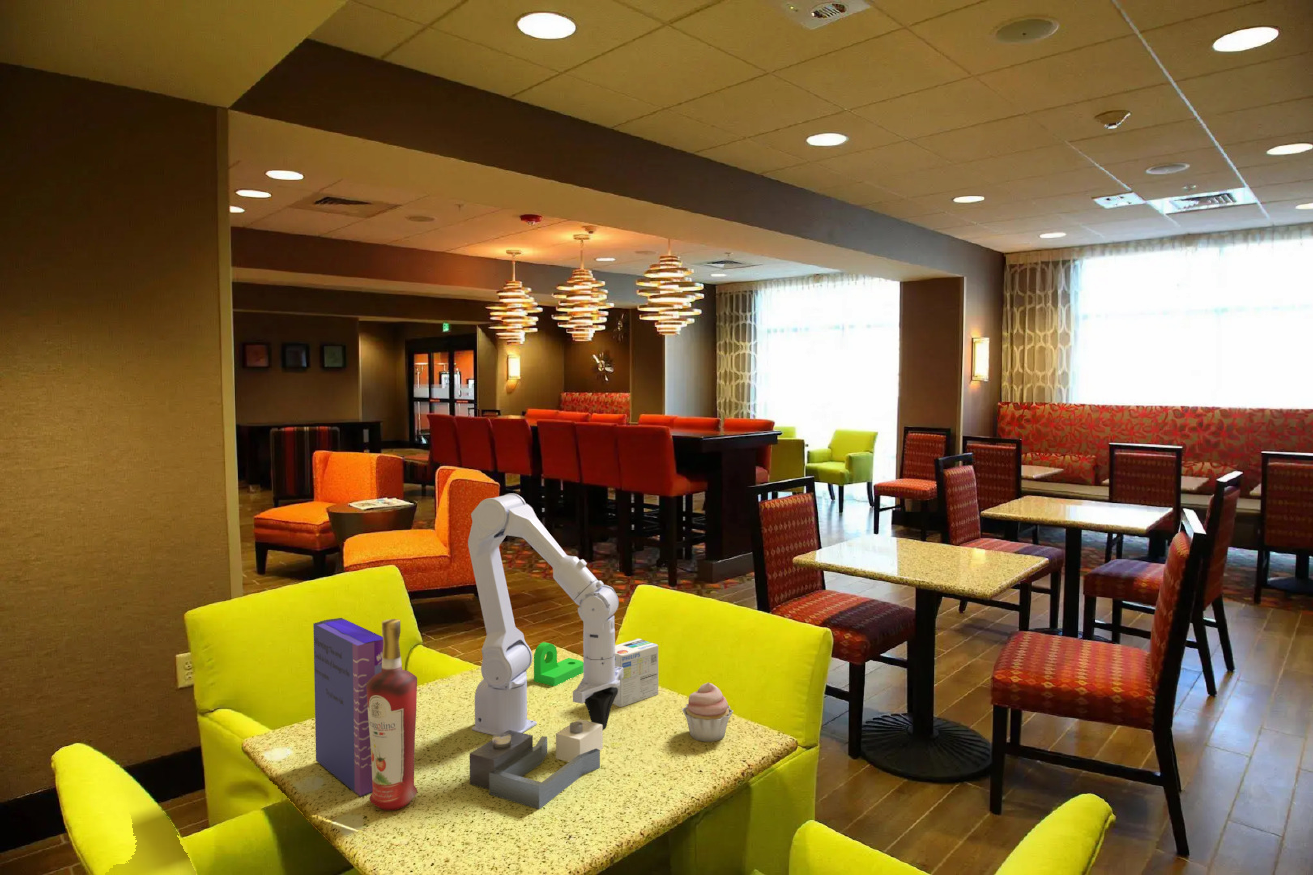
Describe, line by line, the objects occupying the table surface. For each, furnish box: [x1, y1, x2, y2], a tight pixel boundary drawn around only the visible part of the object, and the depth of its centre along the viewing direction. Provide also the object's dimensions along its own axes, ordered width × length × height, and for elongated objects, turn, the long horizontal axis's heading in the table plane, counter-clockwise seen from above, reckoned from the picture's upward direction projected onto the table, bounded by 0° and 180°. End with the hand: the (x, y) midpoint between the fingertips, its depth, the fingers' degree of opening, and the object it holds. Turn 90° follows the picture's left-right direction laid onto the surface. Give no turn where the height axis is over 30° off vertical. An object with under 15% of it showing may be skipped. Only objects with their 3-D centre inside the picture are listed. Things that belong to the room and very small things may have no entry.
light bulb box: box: [612, 638, 659, 708], centre depth 158 cm, size 11×7×11 cm, turn 133°
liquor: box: [366, 618, 418, 812], centre depth 115 cm, size 7×7×28 cm
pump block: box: [555, 718, 604, 763], centre depth 132 cm, size 5×7×6 cm
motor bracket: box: [469, 730, 601, 810], centre depth 124 cm, size 16×16×6 cm
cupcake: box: [681, 682, 734, 743], centre depth 139 cm, size 9×9×10 cm
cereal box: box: [313, 617, 384, 798], centre depth 125 cm, size 17×5×24 cm, turn 45°
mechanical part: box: [533, 641, 583, 687], centre depth 171 cm, size 12×6×8 cm, turn 147°
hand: (599, 728), depth 138 cm, fingers closed
